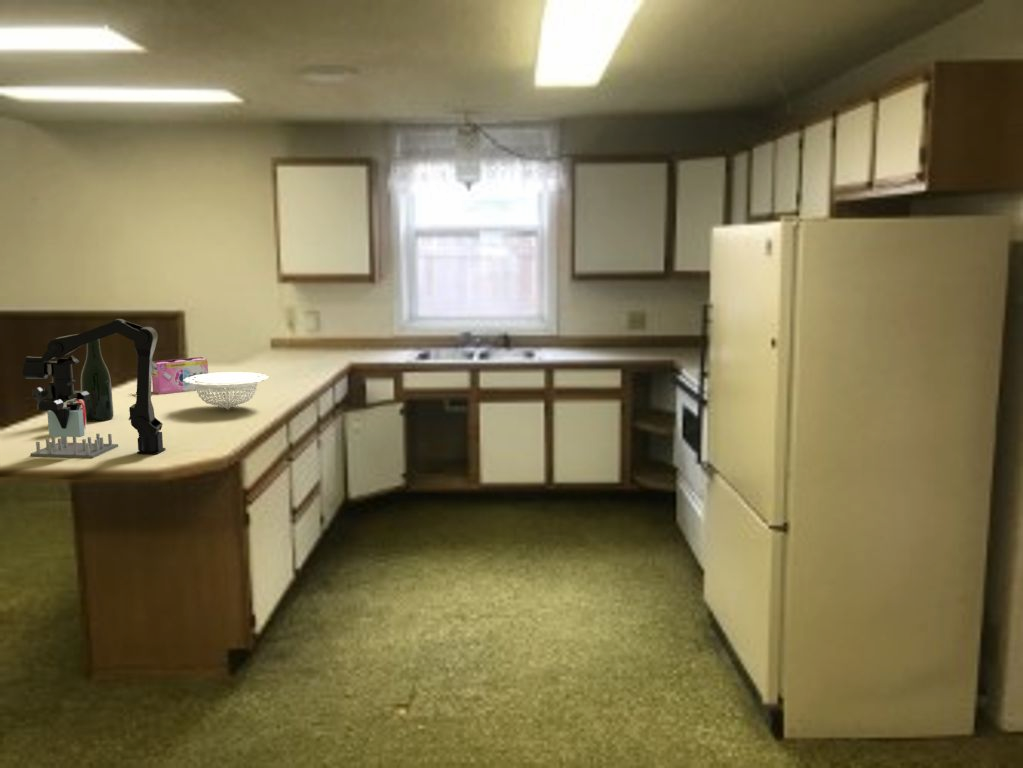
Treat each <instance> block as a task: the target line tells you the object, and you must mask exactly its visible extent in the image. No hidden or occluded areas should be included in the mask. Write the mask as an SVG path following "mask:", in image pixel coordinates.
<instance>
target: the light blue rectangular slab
mask: <svg viewBox="0 0 1023 768" xmlns="http://www.w3.org/2000/svg"><path fill="white" fill-rule="evenodd" d="M46 413H47V423H48V427H47V428H48V436H49V437H51V436H54V437H55V438H56V437H59V438H61V437H67V438H73V437H76V438H82V437H84V436H85V430H84V422H83V410H70V412H69V417H68V422H67V426H66V428H65V429H62V427H61V425H60V423H59V421H58V419H57V417H56V415H55V413H54V412H52V411H51V410H46Z"/></svg>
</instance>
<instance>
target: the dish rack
mask: <svg viewBox="0 0 1023 768" xmlns="http://www.w3.org/2000/svg"><path fill="white" fill-rule="evenodd" d="M50 437H51V441H50V438H48V437H46V438H45V446H46V447H44V448H41V441H36V442H35V447H36V451H33V452H31V453H30V457H45V456H47V457H48V456H49V457H52V458H77V459H78V458H80V459H81V458H82V459H94V458H97V457H98V456H100V455H102V454H105V453H106V452H109V451H111V450H113V449H116V448H119V444H118V443H113V440H112V433H107V438H108V439H107V440H108V443H104V437H101V436H100V433H96V434H95V438H96V439H94V442H92V437H91V436H88V437H87V439H86V438H85V439H84V438H83V439H81V440H82V441H81V442H77V437H72V442H68V437H59V438H57V443H56V437H54V436H50ZM47 457H46V458H47Z"/></svg>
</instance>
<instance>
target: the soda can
mask: <svg viewBox="0 0 1023 768" xmlns="http://www.w3.org/2000/svg"><path fill="white" fill-rule="evenodd" d="M77 401H78V403H82V405H81V406H80V408H79V410H83V422H84V431H85V430H86V429H87V421H86V412H85V402H84V401H83V399H77Z"/></svg>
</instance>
